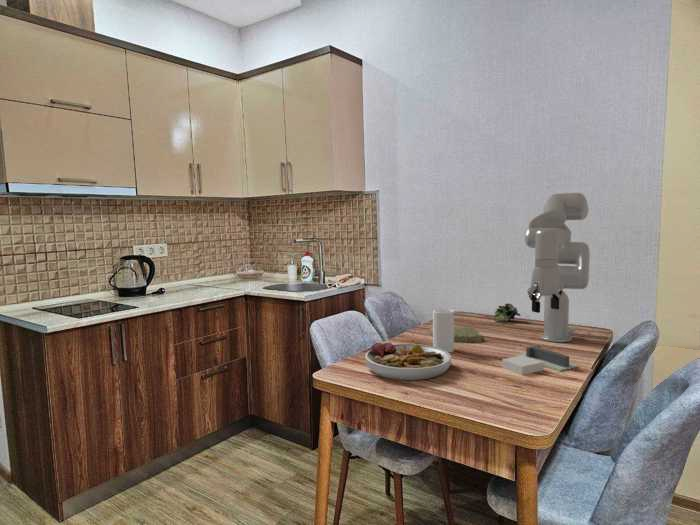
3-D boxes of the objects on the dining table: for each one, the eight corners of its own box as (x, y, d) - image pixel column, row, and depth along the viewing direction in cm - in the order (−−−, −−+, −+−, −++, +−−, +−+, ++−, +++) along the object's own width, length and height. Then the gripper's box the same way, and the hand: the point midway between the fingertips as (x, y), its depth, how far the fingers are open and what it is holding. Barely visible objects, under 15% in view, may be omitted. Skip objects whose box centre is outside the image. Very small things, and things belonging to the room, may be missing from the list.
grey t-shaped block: (572, 365, 160) (572, 355, 160) (560, 368, 157) (560, 358, 157) (537, 354, 173) (537, 345, 173) (526, 356, 171) (526, 347, 171)
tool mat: (532, 352, 178) (532, 351, 177) (578, 367, 160) (578, 365, 160) (515, 356, 174) (515, 354, 174) (560, 371, 156) (560, 369, 156)
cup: (455, 348, 186) (455, 309, 184) (451, 353, 178) (451, 313, 177) (435, 346, 189) (435, 308, 188) (430, 351, 182) (430, 312, 180)
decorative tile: (429, 333, 213) (429, 325, 213) (472, 332, 213) (472, 325, 212) (435, 344, 194) (435, 335, 194) (483, 343, 194) (483, 335, 194)
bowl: (461, 362, 168) (461, 341, 168) (434, 389, 142) (434, 364, 142) (386, 352, 183) (386, 333, 182) (350, 375, 157) (350, 352, 156)
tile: (522, 355, 165) (502, 359, 160) (543, 362, 157) (522, 366, 152) (522, 364, 165) (501, 368, 161) (543, 371, 157) (521, 376, 153)
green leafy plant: (508, 330, 235) (522, 312, 233) (508, 331, 225) (523, 312, 223) (489, 317, 238) (503, 298, 237) (488, 317, 228) (503, 298, 227)
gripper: (554, 261, 172) (553, 306, 173) (520, 264, 164) (520, 311, 166) (571, 262, 165) (570, 309, 167) (537, 266, 157) (536, 315, 159)
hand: (545, 310), depth 166 cm, fingers open, 9 cm apart
